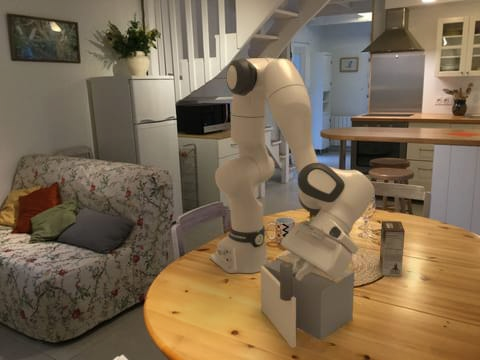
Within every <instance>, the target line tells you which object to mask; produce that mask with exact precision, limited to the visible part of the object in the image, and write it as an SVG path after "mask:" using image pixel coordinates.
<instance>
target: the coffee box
mask: <svg viewBox="0 0 480 360" xmlns="http://www.w3.org/2000/svg"><path fill="white" fill-rule="evenodd" d="M380 228H381V230H380V243H379V244H380V245H379V246H380V248H379V249H380V250H379V267H380V271H381V275H382V276H389V277H402V275H403V274H402V272H403V260H404V258H403V257H404V245H405V234H406V233H405V228H404V225H403V223H402V221H399V220H398V221H396V220H395V221H393V220H392V221H391V220H382V221H381V227H380Z"/></svg>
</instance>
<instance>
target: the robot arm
mask: <svg viewBox="0 0 480 360" xmlns="http://www.w3.org/2000/svg"><path fill="white" fill-rule="evenodd" d="M225 78H226V84H227V88H228V89H229V91H230V92H231V93H232V94H233V97H232V103H231V117H230V118H231V121H230V139H231V140H232V142H234V143H235V144H236V147H237V148H238V153H239V155H238V157H237V158H233V159H230V160H227V161H226V162H224V163H223V164H221V165H220V166H219V167H217V169H216V170H215V173H214V174H215V175H214V181H215V183H216V186H217V188H218V189H219V190H220V191H221V192H222V193H224V194H225V195H226V198H227V199H228V203H229V206H230V219H231V222H230V223H231V225H230V226H227V227H226V231H228V234H227V236H225V237H224V238H222V239H221V240H220V241H218V242H217V245H216V251H215V252H213V253H212V254H211V255H210V256H209V257H210V258H209V259H210V260H211V261H213V262H214V263H215V264H216V265H217V266H219V267H220V269H222V270H224V271H225V272H227V274H238V273H239V274H255V273H258V272H260V267H261V266H263V265H264V264H267V263H269V254H268V252H267V246H266V245H267V244H266V238H265V237H266V229H265V227H266V226H265V225H264V206H263V203H262V202H261V201H259V199H257V196H256V193H255V187H258V186H260V185H262V184H264V183H266V182H267V181H268V180H269V179H271V178H272V177H273V176H274V174H275V170H276V168H275V167H276V166H275V161H274V160H273V158H272V157H271V156H270V155H269V152H268V150H267V145H266V135H265V134H266V112H267V111H266V106H268V108H269V111H270V113H271V115H272V117H273V119H274V121H275V124H276V126H277V127H278V129H279V131H280V132H281V134H282V136H283V138H284V141H286V143H287V146H288V148H289V150H290V153H291V156H292V160H293V162H294V164H295V169H296V171H297V189H298V202H299V204H300V205H301V207H302V208H303V209H304V210H305V211H307V212H309V213H310V212H311V213H315V214H317V215H316V216H315V218H314V219H313V221H312V222H311V223H310V222H309V220H303V221H299V222H298V224H295V225H294V226H293V227H292V228H291V229H290V231H289V232H287V234H286V235H285V236H284V237H283V239H282V240H281V246H282V247H283V248H284V249H285V250H286V251H288V252H289V254H290V253H292V254H294V255H295V256H297V257H296V258H295V260H294V265H293V277H295V278H296V279H297V280H299V281H300V280H301V279H302V278H303V277H304V275H306V274H308V273H310V272H312V270H313V269H314V268H316V269H318V270H319V271H321V272H322V273H324V274H326V275H327V276H329V277H331V278H332V279H334V280H335V279H338V278H340V277H341V276H342V274H343V273H344V272H345V270H346V269H348V267H349V265H350V264H351V262H352V260H353V255H355V254H356V253H357V252H358V251H359V249H360V248H359V246H358V244H357V243H356V242H355V241H354V240H353V239H352V238H351V236H350V235H349V234H350V233H351V232H352V230H353V228H354V225H355V223H356V222H357V221H358V220H359V219H361V218H362V216H363V215H364V214H365V212H366V210H367V209H368V207H369V206H370V204H371V202H372V201H373V198H374V196H375V186H374V184H373V183H372V180H371V179H370V178H369V177H368V176H367V175H366V174H364V173H363V172H362V171H359V170H356V169H349V170H347V169H346V170H345V169H339V168H336V167H332V166H328V165H327V164H326V163H325V164H324V163H323V162H319V160H318V157H317V154H316V151H315V148H314V144H313V137H312V136H313V135H312V134H313V133H312V127H313V126H312V123H313V122H312V118H313V116H312V107H311V106H312V104H311V100H310V96H309V93H308V90H307V87H306V85H305V82H304V80H303V77H302V76H301V74H300V73H299V71H298V68H297V66H296V63H294V62H293V61H292V60H289V59H287V58H272V57H258V58H253V57H252V58H245V57H244V58H243V57H242V58H238V59H233V60H232V61H231V62H230V64H229V65H228V66H227V70H226V77H225ZM266 102H267V103H266ZM266 104H267V105H266ZM301 265H304V267H303V268H301ZM300 268H301V269H300Z"/></svg>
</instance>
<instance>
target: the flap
mask: <svg viewBox="0 0 480 360" xmlns="http://www.w3.org/2000/svg"><path fill="white" fill-rule="evenodd" d="M259 272H260V309H261V311H262V312H263V313H264V314H265V316H266V317H267V319H269V320H270V322H271V323H272V324H273V326H274V327H275V328H276V330H277V331H278V332H279V333H280V335H281V336H282V337H283V339H284V340H286V343H288V345H289V346H290V348H296V347H297V341H296V340H297V338H296V336H297V335H296V333H297V328H296V298H295V297H294V296H293V264H292V263H290V262H282V263H281V264H280V282H279V281H278V280H277V279H276V278H275V277H274V276H273V275H272V274H271V273H270V272H269V271H268V270H267V269H266V268H265V267H264V266H261V267H260V271H259Z"/></svg>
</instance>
